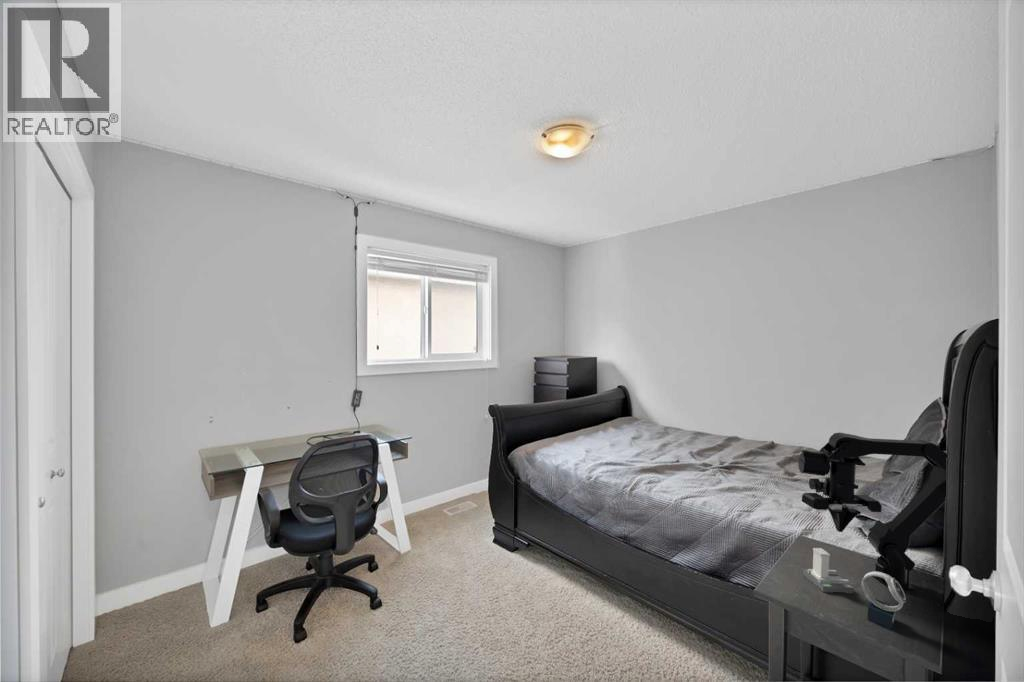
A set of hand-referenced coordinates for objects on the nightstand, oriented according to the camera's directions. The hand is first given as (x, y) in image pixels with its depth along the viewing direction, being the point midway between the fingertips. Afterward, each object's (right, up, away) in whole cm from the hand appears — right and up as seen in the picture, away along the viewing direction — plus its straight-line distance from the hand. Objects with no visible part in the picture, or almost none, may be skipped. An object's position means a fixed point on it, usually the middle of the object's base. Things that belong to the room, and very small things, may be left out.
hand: (839, 531), depth 120 cm
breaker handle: (-9, -10, -5) cm, 15 cm away
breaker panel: (-8, -12, -5) cm, 15 cm away
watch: (-5, -13, -19) cm, 24 cm away
